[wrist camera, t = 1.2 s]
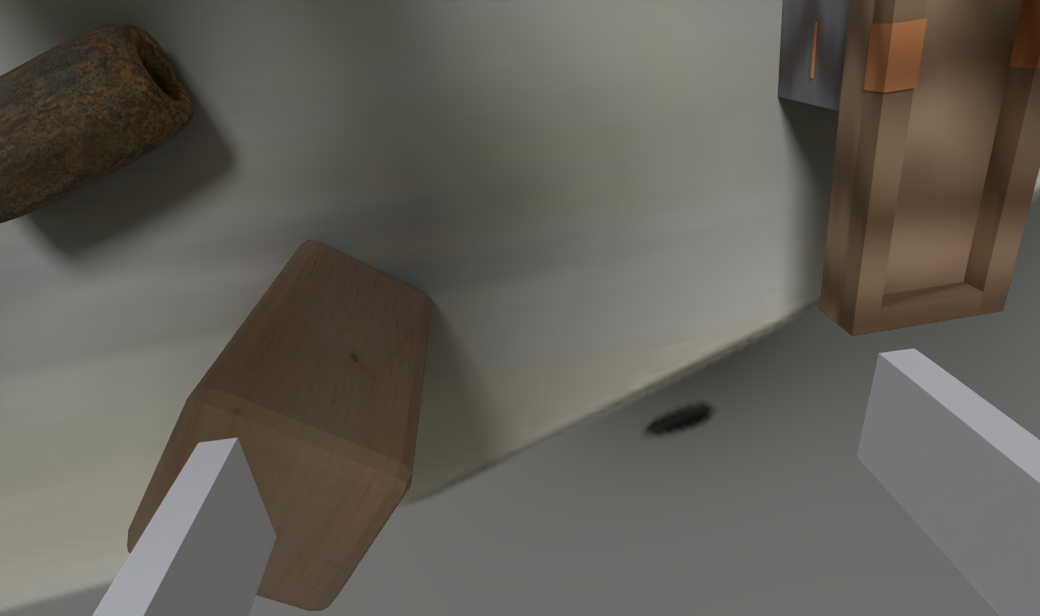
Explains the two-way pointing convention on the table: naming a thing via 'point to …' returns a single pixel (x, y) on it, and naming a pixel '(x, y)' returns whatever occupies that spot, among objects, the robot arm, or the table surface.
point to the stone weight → (84, 115)
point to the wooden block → (314, 416)
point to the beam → (920, 150)
